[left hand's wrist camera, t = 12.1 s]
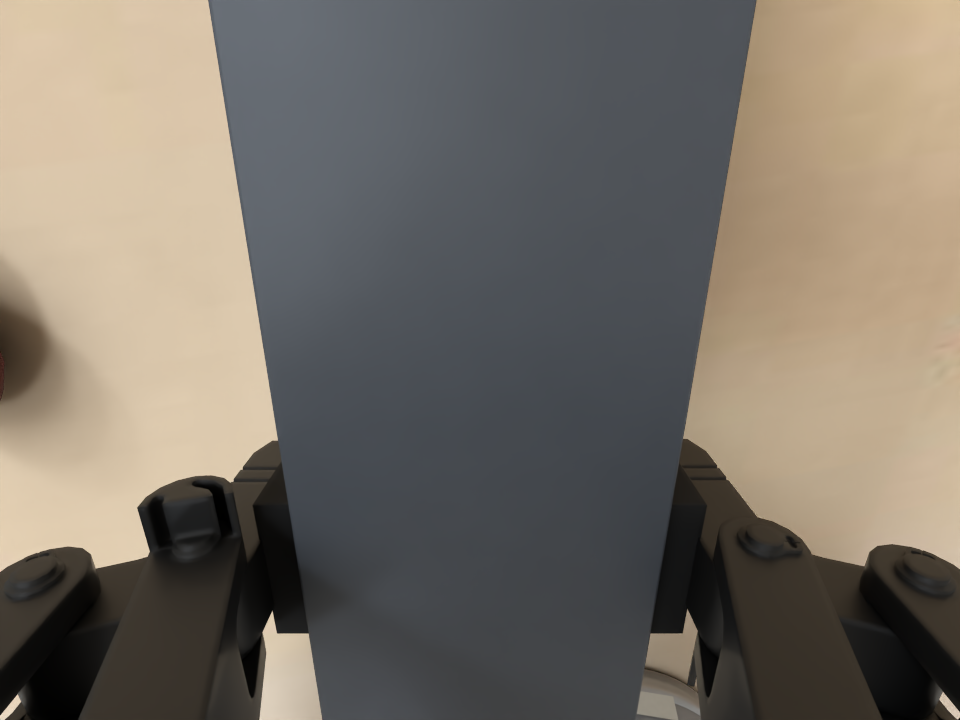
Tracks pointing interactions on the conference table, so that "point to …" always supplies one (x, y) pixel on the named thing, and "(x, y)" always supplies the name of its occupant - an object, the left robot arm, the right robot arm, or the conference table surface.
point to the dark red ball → (1, 375)
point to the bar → (480, 327)
